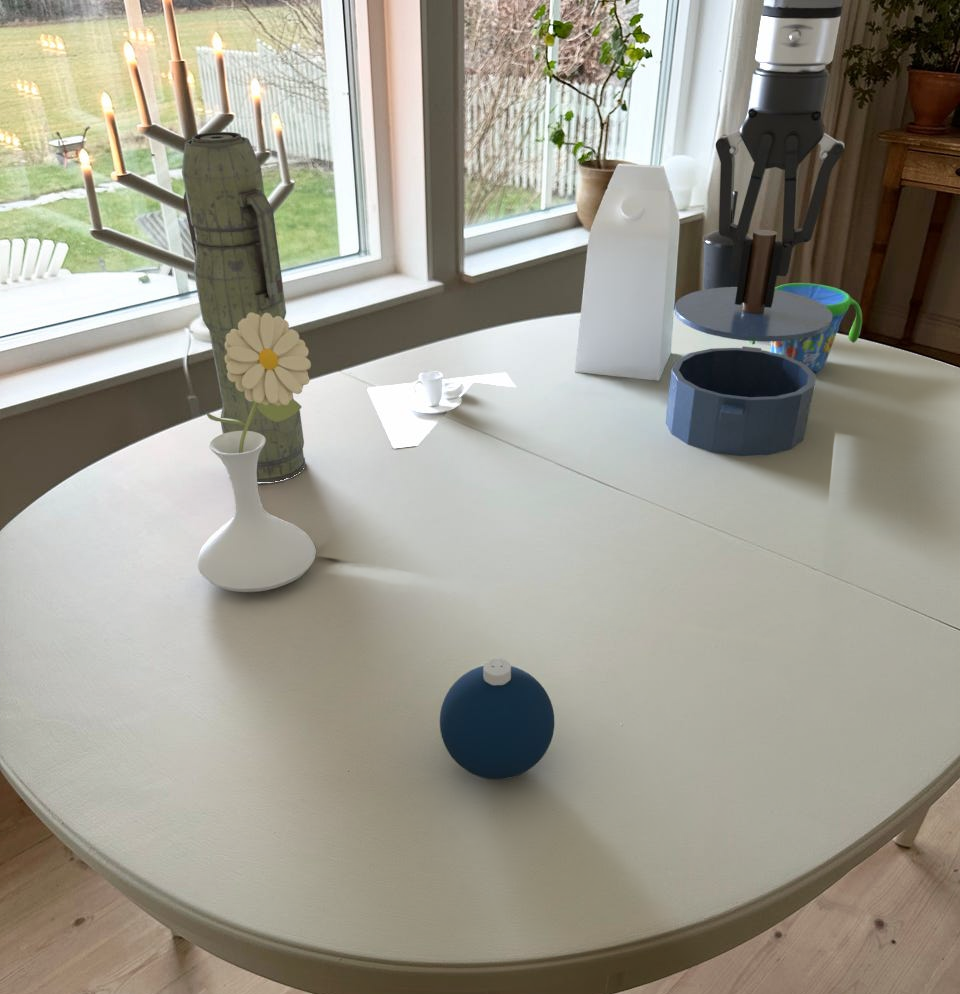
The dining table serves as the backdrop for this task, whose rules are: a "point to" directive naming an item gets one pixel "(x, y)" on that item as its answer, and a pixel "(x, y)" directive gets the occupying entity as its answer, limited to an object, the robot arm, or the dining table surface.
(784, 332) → the lid
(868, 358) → the dining table surface
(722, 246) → the drinking cup
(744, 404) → the pot
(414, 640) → the dining table surface
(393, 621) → the dining table surface
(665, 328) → the milk
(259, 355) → the flower in vase
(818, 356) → the snack cup
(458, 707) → the christmas ornament
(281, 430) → the thermos
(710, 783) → the dining table surface
